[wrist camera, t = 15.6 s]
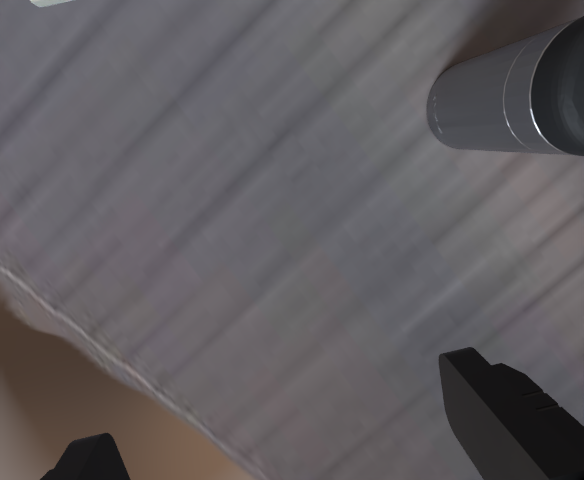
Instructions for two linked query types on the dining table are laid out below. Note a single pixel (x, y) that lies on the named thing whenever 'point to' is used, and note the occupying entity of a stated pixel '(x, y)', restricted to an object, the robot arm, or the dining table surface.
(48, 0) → the box on white base
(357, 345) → the dining table surface
